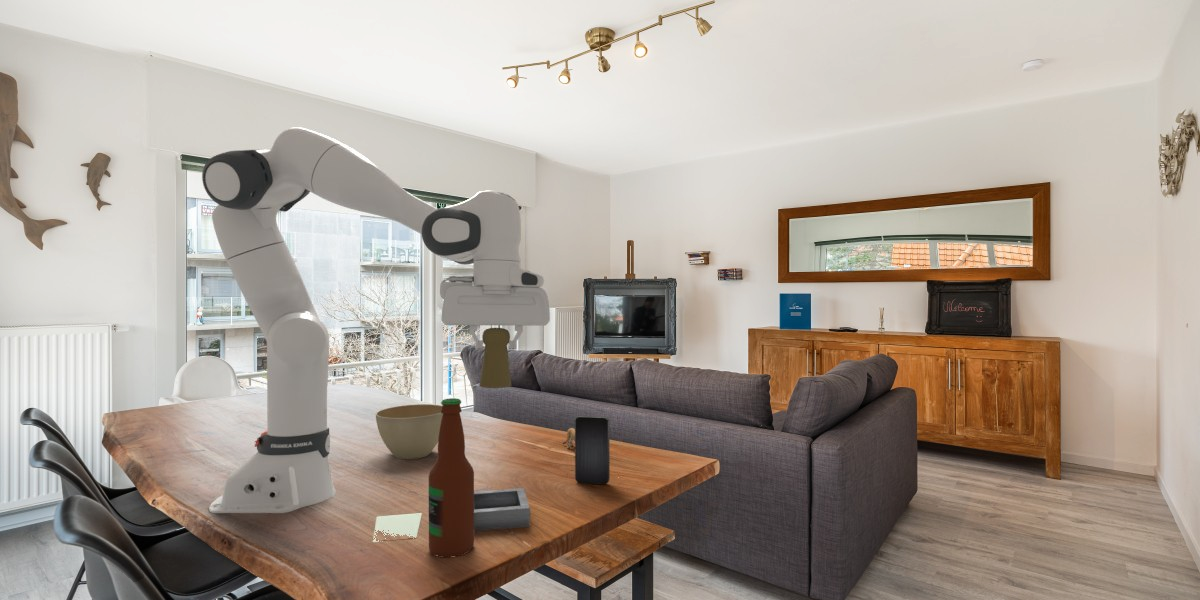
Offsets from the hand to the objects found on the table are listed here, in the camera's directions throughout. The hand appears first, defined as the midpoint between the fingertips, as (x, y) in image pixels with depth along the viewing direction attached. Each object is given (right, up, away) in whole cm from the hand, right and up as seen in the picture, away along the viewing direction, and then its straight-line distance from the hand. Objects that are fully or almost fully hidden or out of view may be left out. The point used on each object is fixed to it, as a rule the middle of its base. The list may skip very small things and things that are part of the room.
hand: (495, 349), depth 108 cm
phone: (+18, -32, +21) cm, 42 cm away
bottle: (-5, -32, -14) cm, 35 cm away
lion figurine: (+13, -32, +50) cm, 61 cm away
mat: (-19, -32, -5) cm, 38 cm away
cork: (0, -7, 0) cm, 7 cm away
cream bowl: (-30, -32, +43) cm, 62 cm away
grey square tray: (0, -32, 0) cm, 32 cm away
